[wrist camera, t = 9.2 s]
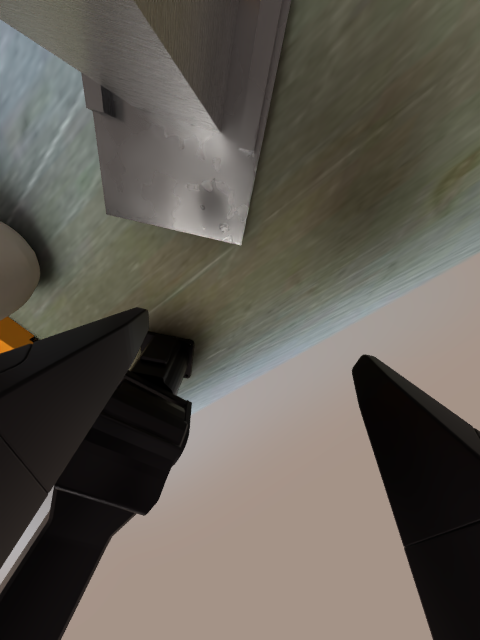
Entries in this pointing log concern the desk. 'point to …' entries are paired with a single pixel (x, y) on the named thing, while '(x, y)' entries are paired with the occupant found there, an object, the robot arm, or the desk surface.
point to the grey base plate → (194, 141)
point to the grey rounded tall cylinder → (16, 271)
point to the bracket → (13, 335)
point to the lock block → (141, 49)
